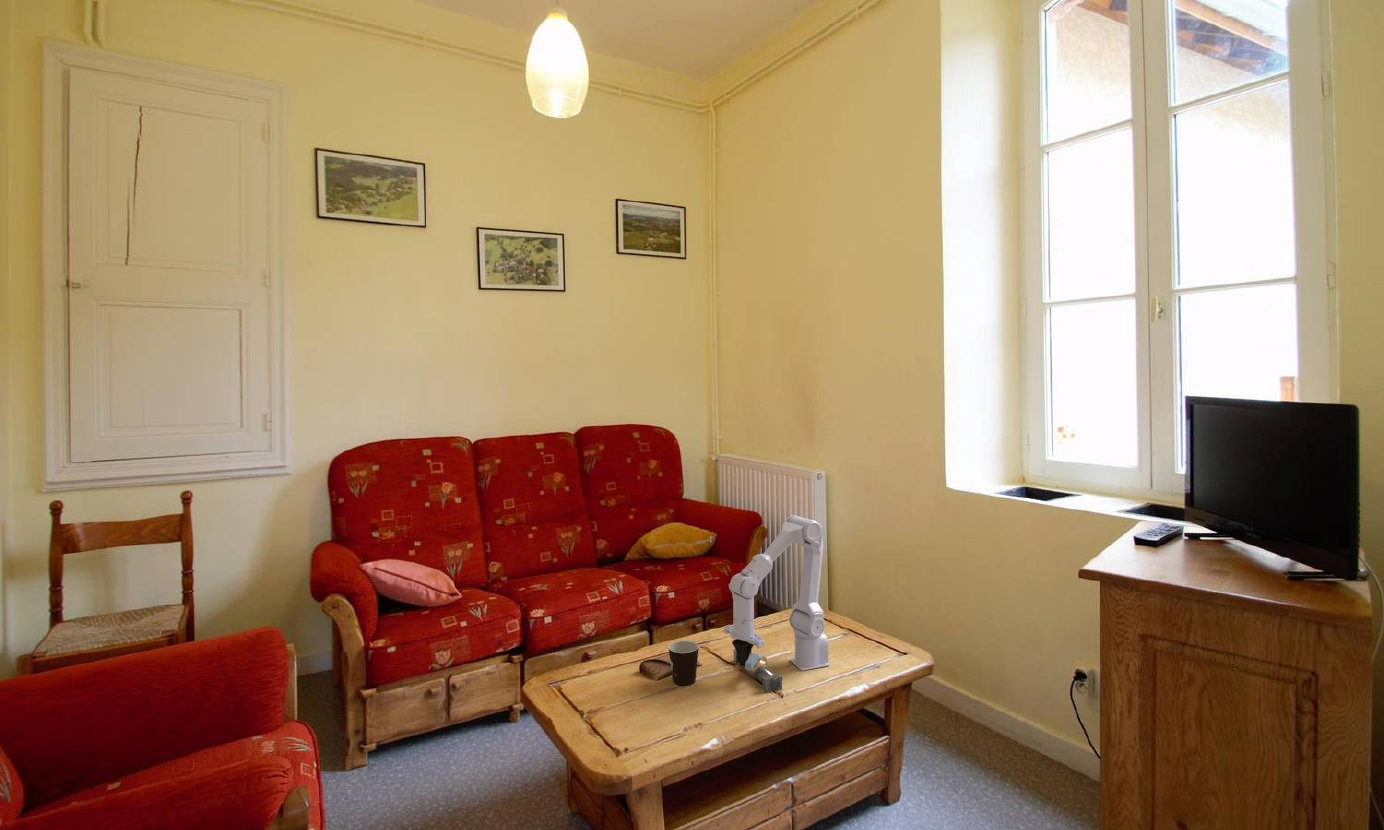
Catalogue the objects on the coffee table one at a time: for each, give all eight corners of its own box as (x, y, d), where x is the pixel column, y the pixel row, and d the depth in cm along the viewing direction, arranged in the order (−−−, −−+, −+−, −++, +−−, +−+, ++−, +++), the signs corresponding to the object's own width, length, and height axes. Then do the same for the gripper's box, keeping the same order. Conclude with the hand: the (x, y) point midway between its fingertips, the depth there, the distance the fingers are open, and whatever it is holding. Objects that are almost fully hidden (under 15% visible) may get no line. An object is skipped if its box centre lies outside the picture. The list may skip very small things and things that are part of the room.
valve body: (732, 661, 203) (731, 646, 202) (750, 658, 205) (750, 643, 204) (763, 693, 182) (763, 677, 182) (783, 689, 184) (783, 673, 184)
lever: (752, 655, 195) (752, 649, 195) (763, 656, 194) (763, 650, 194) (742, 669, 186) (742, 662, 186) (753, 670, 185) (753, 664, 185)
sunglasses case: (655, 682, 189) (647, 658, 192) (643, 687, 194) (636, 663, 197) (704, 664, 200) (697, 642, 203) (692, 669, 205) (685, 648, 208)
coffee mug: (696, 689, 185) (695, 654, 184) (665, 687, 186) (665, 652, 186) (703, 671, 196) (703, 637, 196) (675, 669, 198) (674, 635, 197)
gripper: (716, 613, 190) (716, 660, 191) (750, 628, 179) (750, 678, 180) (734, 608, 195) (735, 653, 195) (769, 622, 183) (769, 671, 184)
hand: (743, 665), depth 188 cm, fingers closed, pressing on lever
